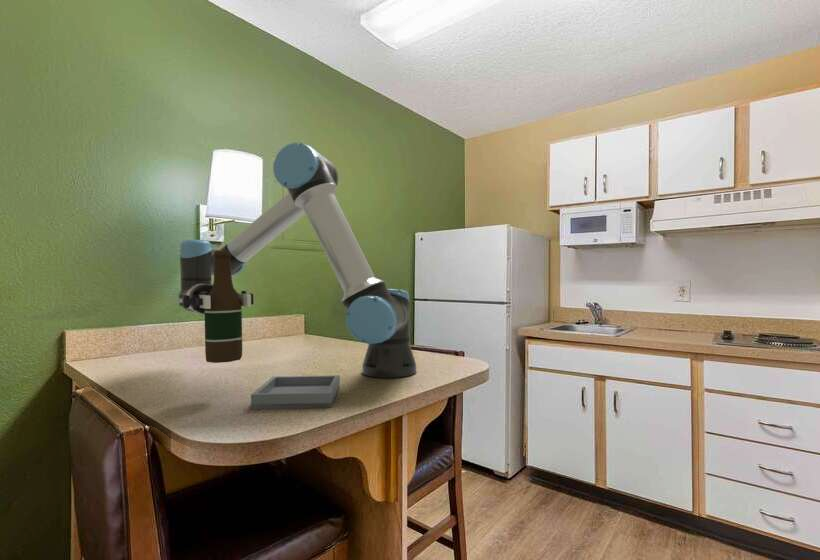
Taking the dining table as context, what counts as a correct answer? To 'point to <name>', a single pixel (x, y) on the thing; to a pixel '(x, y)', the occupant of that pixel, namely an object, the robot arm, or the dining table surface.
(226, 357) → the beer bottle
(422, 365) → the dining table surface
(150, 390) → the dining table surface
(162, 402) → the dining table surface
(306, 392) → the tray
